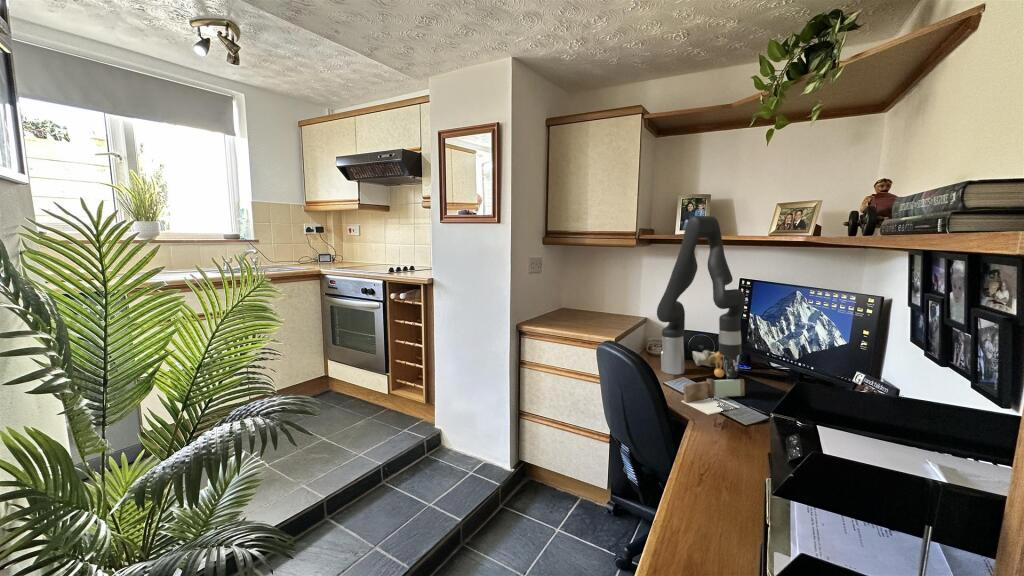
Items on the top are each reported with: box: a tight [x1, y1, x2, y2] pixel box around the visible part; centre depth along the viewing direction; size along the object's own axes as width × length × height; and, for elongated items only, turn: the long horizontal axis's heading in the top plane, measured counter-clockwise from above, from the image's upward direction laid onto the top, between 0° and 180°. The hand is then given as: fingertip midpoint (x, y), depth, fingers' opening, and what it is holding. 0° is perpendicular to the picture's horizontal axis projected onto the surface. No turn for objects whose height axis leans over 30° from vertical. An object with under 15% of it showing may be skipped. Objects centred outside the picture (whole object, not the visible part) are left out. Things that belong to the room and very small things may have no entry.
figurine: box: [708, 350, 725, 378], centre depth 170 cm, size 8×6×12 cm
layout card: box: [681, 398, 741, 416], centre depth 143 cm, size 14×14×1 cm
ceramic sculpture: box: [691, 349, 723, 369], centre depth 188 cm, size 11×9×15 cm
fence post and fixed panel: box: [683, 378, 715, 403], centre depth 147 cm, size 13×2×7 cm, turn 106°
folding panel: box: [713, 378, 746, 398], centre depth 148 cm, size 11×2×6 cm, turn 86°
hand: (730, 385), depth 151 cm, fingers closed
